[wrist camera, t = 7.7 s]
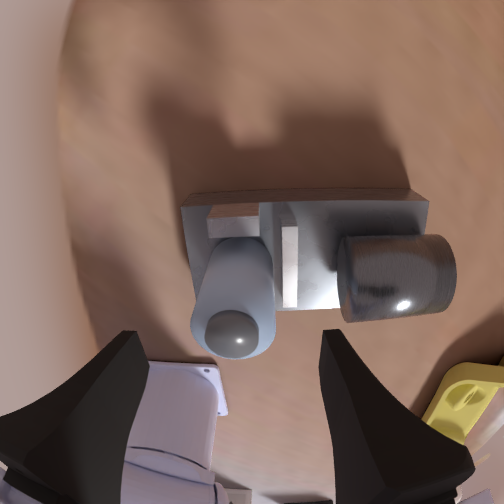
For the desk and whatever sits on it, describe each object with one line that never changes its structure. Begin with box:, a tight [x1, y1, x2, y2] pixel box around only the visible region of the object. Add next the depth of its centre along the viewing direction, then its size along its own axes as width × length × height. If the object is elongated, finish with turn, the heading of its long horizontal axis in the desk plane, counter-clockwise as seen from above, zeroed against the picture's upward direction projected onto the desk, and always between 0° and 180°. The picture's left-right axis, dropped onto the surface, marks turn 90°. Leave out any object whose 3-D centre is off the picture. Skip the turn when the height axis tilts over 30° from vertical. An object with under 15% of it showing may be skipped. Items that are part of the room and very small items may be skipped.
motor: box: [180, 188, 457, 323], centre depth 16 cm, size 15×7×7 cm, turn 94°
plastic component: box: [421, 356, 504, 445], centre depth 27 cm, size 20×7×10 cm
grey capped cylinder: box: [190, 237, 276, 359], centre depth 15 cm, size 4×4×6 cm
